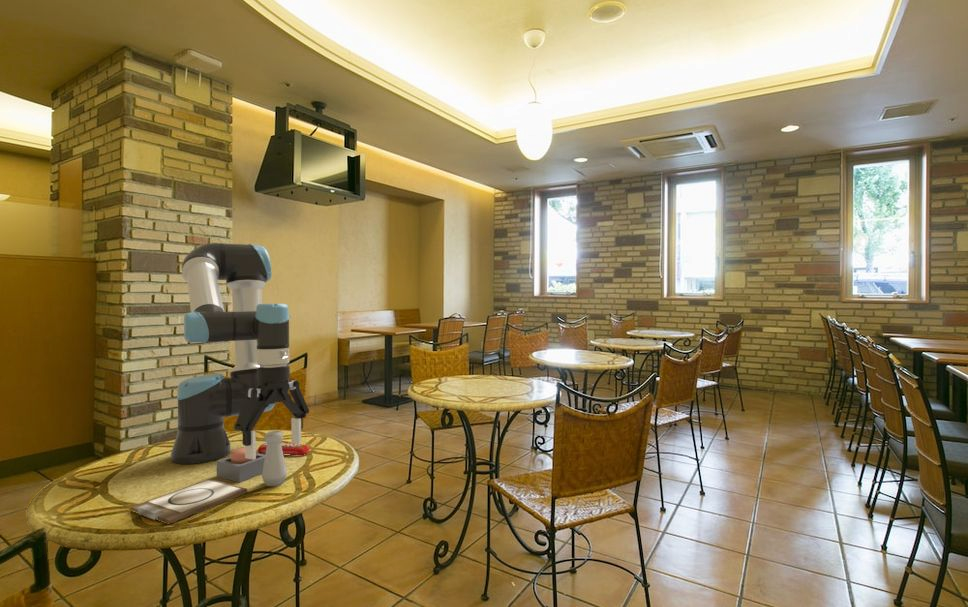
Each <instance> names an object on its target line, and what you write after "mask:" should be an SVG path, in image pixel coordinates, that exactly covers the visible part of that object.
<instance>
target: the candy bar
mask: <svg viewBox="0 0 968 607" xmlns="http://www.w3.org/2000/svg"><path fill="white" fill-rule="evenodd" d="M281 446H282V451H283V454H290V455H289V456H291V455H303V456H305V455H307V453H308V452H309V451H310V450H311V449H310V448H309V447H308V446H307V444H304V443H301V444H296V443H289V442H288V443H286V442H285V443H284V442H281ZM266 448H267V442H264V443H262V444H260V445H259V447H258V448H257V449H256V453H257V452H258V453H259V454H260V453H265V454H266ZM265 454H264V455H265ZM304 454H305V455H304Z"/></svg>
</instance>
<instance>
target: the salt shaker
mask: <svg viewBox="0 0 968 607" xmlns="http://www.w3.org/2000/svg"><path fill="white" fill-rule="evenodd" d="M283 440H284V432H283V431H281V430H271V431H268V432H266V433H265V435H264V443H267V448H266V454H264V455H265V460H264V466H263V472H262V474H261V479H262V481H263V482H264V485H265V486H267V487H270V486H271V487H278V486H280V485H282V484H284V483H285V480H286V477H287V474H288V470H287V464H286V461H285V455H283V451H282V446H281V443H282V441H283Z"/></svg>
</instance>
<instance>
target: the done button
mask: <svg viewBox="0 0 968 607" xmlns="http://www.w3.org/2000/svg"><path fill="white" fill-rule="evenodd" d="M230 457H231V462H233V463H237V464H243V463H246V462H249V461H251V460H252V459H248V458H245V447H240V448H236V449H234V450H231V451H230ZM253 460H254V459H253Z"/></svg>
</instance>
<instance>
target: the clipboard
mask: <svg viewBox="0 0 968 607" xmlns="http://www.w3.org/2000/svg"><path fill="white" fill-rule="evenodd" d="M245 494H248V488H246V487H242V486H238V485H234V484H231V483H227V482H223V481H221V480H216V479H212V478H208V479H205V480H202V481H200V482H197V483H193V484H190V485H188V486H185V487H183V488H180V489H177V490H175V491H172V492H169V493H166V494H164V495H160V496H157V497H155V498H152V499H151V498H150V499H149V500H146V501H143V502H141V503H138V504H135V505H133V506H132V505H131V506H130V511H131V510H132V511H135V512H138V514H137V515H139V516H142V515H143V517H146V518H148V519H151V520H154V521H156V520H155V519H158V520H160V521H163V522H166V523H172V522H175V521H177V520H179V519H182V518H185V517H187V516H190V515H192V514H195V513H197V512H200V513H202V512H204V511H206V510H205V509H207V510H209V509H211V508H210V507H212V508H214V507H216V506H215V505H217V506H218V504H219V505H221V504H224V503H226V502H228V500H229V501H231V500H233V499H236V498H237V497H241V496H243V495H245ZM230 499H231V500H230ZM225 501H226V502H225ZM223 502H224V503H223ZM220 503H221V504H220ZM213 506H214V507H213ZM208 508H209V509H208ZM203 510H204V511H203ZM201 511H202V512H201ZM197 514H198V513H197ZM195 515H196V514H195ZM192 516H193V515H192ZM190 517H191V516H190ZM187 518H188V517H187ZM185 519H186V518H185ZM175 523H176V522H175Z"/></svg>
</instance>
